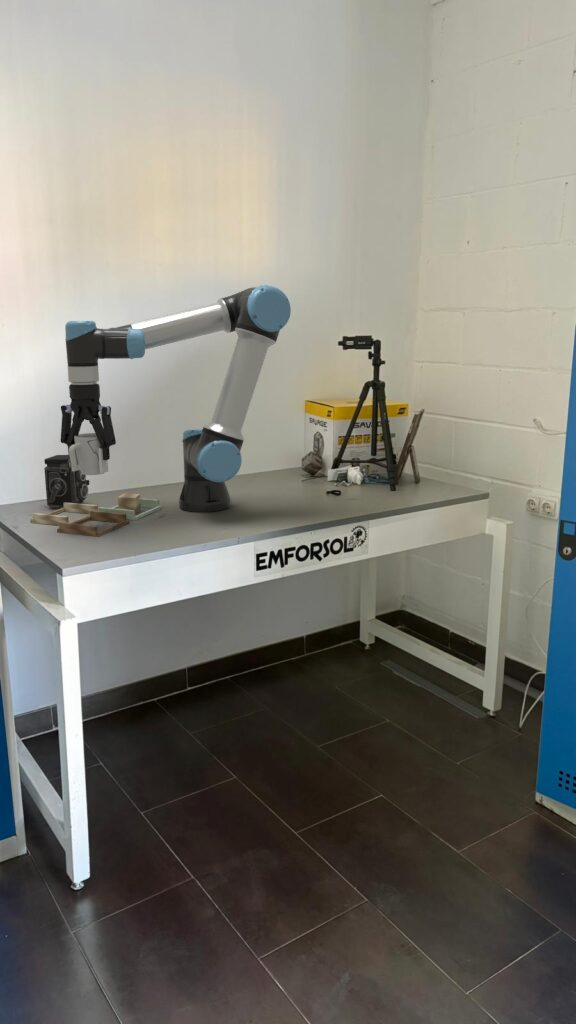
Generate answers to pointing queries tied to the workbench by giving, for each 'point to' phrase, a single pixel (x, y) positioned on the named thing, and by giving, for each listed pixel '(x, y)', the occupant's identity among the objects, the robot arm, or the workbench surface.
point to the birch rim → (55, 519)
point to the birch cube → (130, 502)
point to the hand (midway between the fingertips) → (90, 471)
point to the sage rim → (130, 513)
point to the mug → (86, 454)
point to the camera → (64, 482)
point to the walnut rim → (92, 530)
